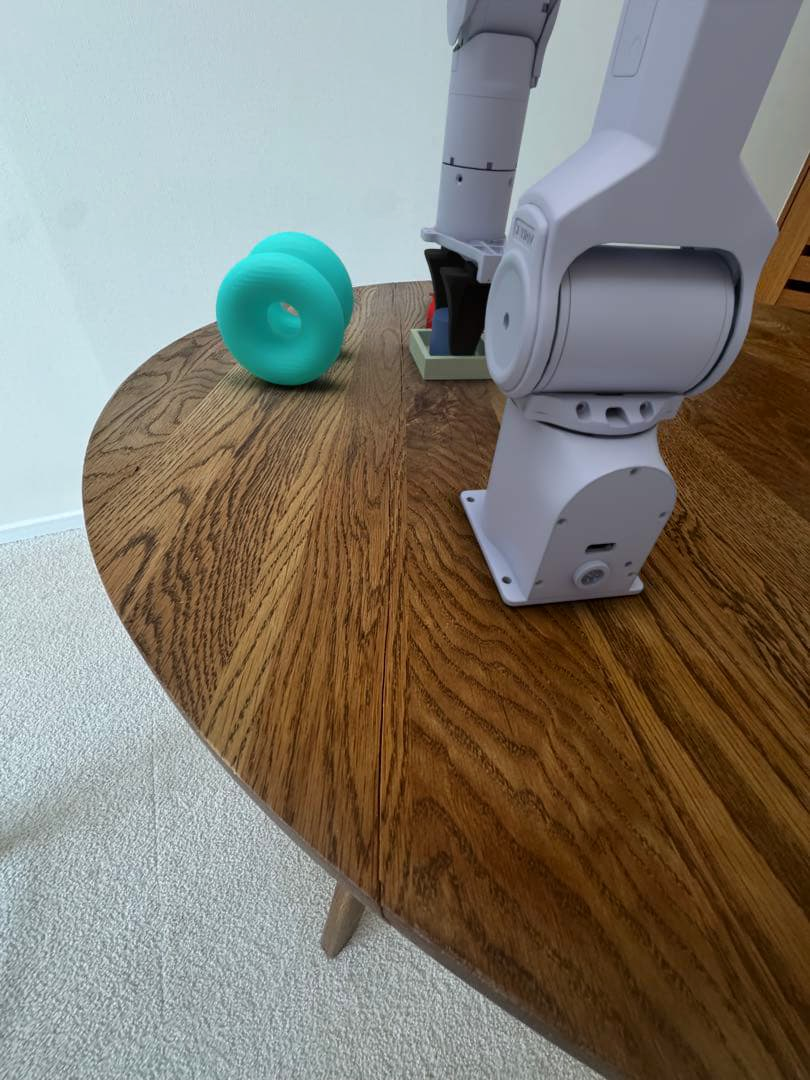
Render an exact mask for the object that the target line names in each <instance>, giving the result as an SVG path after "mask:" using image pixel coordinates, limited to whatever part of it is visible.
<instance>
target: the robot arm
mask: <svg viewBox="0 0 810 1080" xmlns="http://www.w3.org/2000/svg"><path fill="white" fill-rule="evenodd" d="M804 1H805V0H623V4H622V8H621V12H620V15H619V19H618V24H617V28H616V31H615V36H614V40H613V43H612V48H611V52H610V56H609V60H608V65H607V68H606V72H605V76H604V81H603V85H602V87H601V92H600V96H599V99H598V104H597V109H596V112H595V117H594V119H593V120H594V121H593V124H592V128H591V132H590V136H589V138H588V139H587V141H585V142H584V143H583V144H582V145H581V146H580V147H579V148H578V149H577V150H575V151H574V152H573V153H572V154H571V155H569V156H568V157H567V158H565V159H564V160H563V161H561V162H560V163H559V164H558V165H556V166H555V167H554V168H553V169H551V170H550V171H549V172H548V173H546V174H545V175H544V176H542V177H540V179H539V180H537V181H536V182H535V183H533V184H532V185H531V186H530V187H529V188H528V189H526V190H525V191H524V192H523V193H522V194H521V196H519V199H518V200H517V206H516V209H515V211H514V212H513V214H512V217H511V222H510V227H509V231H508V235H506V229H507V224H508V217H509V211H510V206H511V200H512V195H513V191H514V185H515V179H516V173H517V168H518V162H519V157H520V150H521V145H522V141H523V134H524V129H525V123H526V118H527V112H528V105H529V100H530V95H531V89H535V88H537V86H538V83H539V78H541V74H542V69H543V63H544V58H545V54H546V50H547V48H548V45H549V41H550V38H551V36H552V35H553V34H552V33H553V31H554V28H555V25H556V22H557V18H558V16H559V11H560V7H561V2H562V0H446V32H447V33H446V35H447V41H448V44H449V46H451V47H453V46H454V45H455V44H456V45H455V46H454V48H453V49H452V53H451V66H450V73H449V86H448V95H447V96H448V97H447V107H446V117H445V125H444V137H443V138H444V139H443V146H442V147H443V148H442V156H441V157H442V158H441V161H442V162H441V167H440V168H441V169H440V178H439V189H438V199H437V209H436V218H435V219H436V220H435V225H434V226H432V227H427V226H426V227H425V226H424V227H421V228H420V238H421V240H422V241H423V242H426V243H434V244H437V245H439V246H440V248H425V249H424V250H423V254H424V255H423V256H424V259H425V261H426V263H427V267H428V271H429V274H430V278H431V284H432V291H434V301H435V310H437V309H440V308H448V315H449V324H448V342H449V350H450V354H451V355H452V356H472V355H473V354H474V352H475V350H476V347H477V345H478V343H479V340H480V338H481V335H482V333H483V334H484V341H485V356H486V362H487V367H488V370H489V373H490V376H491V378H492V379H491V380H492V381H493V382H494V383H495V386H497V389H498V390H499V392H500V393H501V394H502V395H503V396H505V397H506V402H505V406H504V410H503V415H502V419H501V423H500V428H499V433H498V437H497V442H496V446H495V451H494V455H493V460H492V464H491V468H490V473H489V477H488V480H487V486H486V489H473V490H470V489H469V490H463V491H461V492H460V495H459V500H460V502H461V504H462V507H463V509H464V512H465V514H466V517H467V519H468V521H469V524H470V526H471V528H472V530H473V533H474V536H475V538H476V541H477V543H478V546H479V548H480V549H481V553H482V554H483V557H484V559H485V562H486V563H487V566H488V568H489V571H490V573H491V576H492V578H493V580H494V582H495V585H496V588H497V591H498V592H499V594H500V597H501V600H502V601H503V603H505V604H506V605H507V606H510V607H519V606H531V605H539V604H549V603H550V604H551V603H559V602H570V601H580V600H589V599H590V600H591V599H600V598H610V597H611V598H612V597H619V596H630V595H638V594H640V593H641V592H642V591H643V589H644V586H645V585H644V583H643V582H642V580H641V579H640V577H639V574H640V571H641V569H642V568H643V566H644V565H645V562H646V561H647V559H648V557H649V555H650V553H651V551H652V550H653V548H654V546H655V545H656V543H657V541H658V539H659V536H660V535H661V534H662V531H663V530H664V528H665V526H666V524H667V522H668V521H669V519H670V517H671V515H672V513H673V511H674V509H675V505H676V502H677V496H678V491H677V485H676V481H675V480H674V477H673V475H672V474H671V472H670V470H669V469H668V467H667V466H666V464H665V461H664V459H663V458H662V457H663V456H662V455H661V453H660V448H659V442H658V425H659V422H661V421H666V420H674V419H675V417H676V415H677V414H678V412H679V409H680V407H681V405H682V403H683V401H684V399H687V398H693V397H696V396H697V395H701V394H703V393H705V392H707V391H708V390H710V389H711V388H712V387H713V386H715V384H717V383H718V382H720V380H721V379H722V378H723V377H724V376H725V375H726V373H727V372H728V371H729V369H730V368H731V366H732V365H733V363H734V362H735V360H736V359H737V357H738V356H739V353H740V352H741V350H742V347H743V345H744V342H745V340H746V338H747V335H748V332H749V327H750V324H751V320H752V314H753V306H754V301H755V294H756V290H757V286H758V282H759V280H760V276H761V273H762V271H763V269H764V267H765V264H766V261H767V258H768V257H769V255H770V253H771V251H772V249H773V247H774V245H775V243H776V241H777V239H778V237H779V234H780V231H779V230H780V229H779V226H778V224H777V221H776V219H775V217H774V215H773V214H772V212H771V210H770V209H769V207H768V205H767V203H766V202H765V200H764V199H763V197H762V195H761V193H760V191H759V190H758V188H757V186H756V184H755V183H754V181H753V179H752V178H751V175H750V174H749V172H748V169H747V168H746V166H745V164H744V163H743V160H742V158H741V154H742V151H743V149H744V146H745V144H746V141H747V139H748V136H749V134H750V132H751V130H752V128H753V124H754V122H755V119H756V117H757V115H758V112H759V110H760V107H761V105H762V103H763V100H764V97H765V96H766V93H767V90H768V88H769V86H770V83H771V81H772V79H773V76H774V73H775V72H776V71H775V70H776V68H777V67H778V64H779V61H780V59H781V57H782V54H783V51H784V49H785V47H786V44H787V42H788V41H789V37H790V35H791V32H792V30H793V28H794V25H795V22H796V20H797V17H798V15H799V13H800V10H801V8H802V5H803V3H804ZM616 244H617V245H616ZM618 244H630V245H618ZM636 245H637V246H636ZM638 245H639V246H638ZM640 245H647V246H640ZM648 245H649V246H648ZM650 245H651V246H650ZM652 245H653V246H652ZM656 246H657V247H656ZM658 246H659V247H658ZM660 246H667V247H660ZM674 247H675V248H674ZM676 247H679V248H676Z"/></svg>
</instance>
